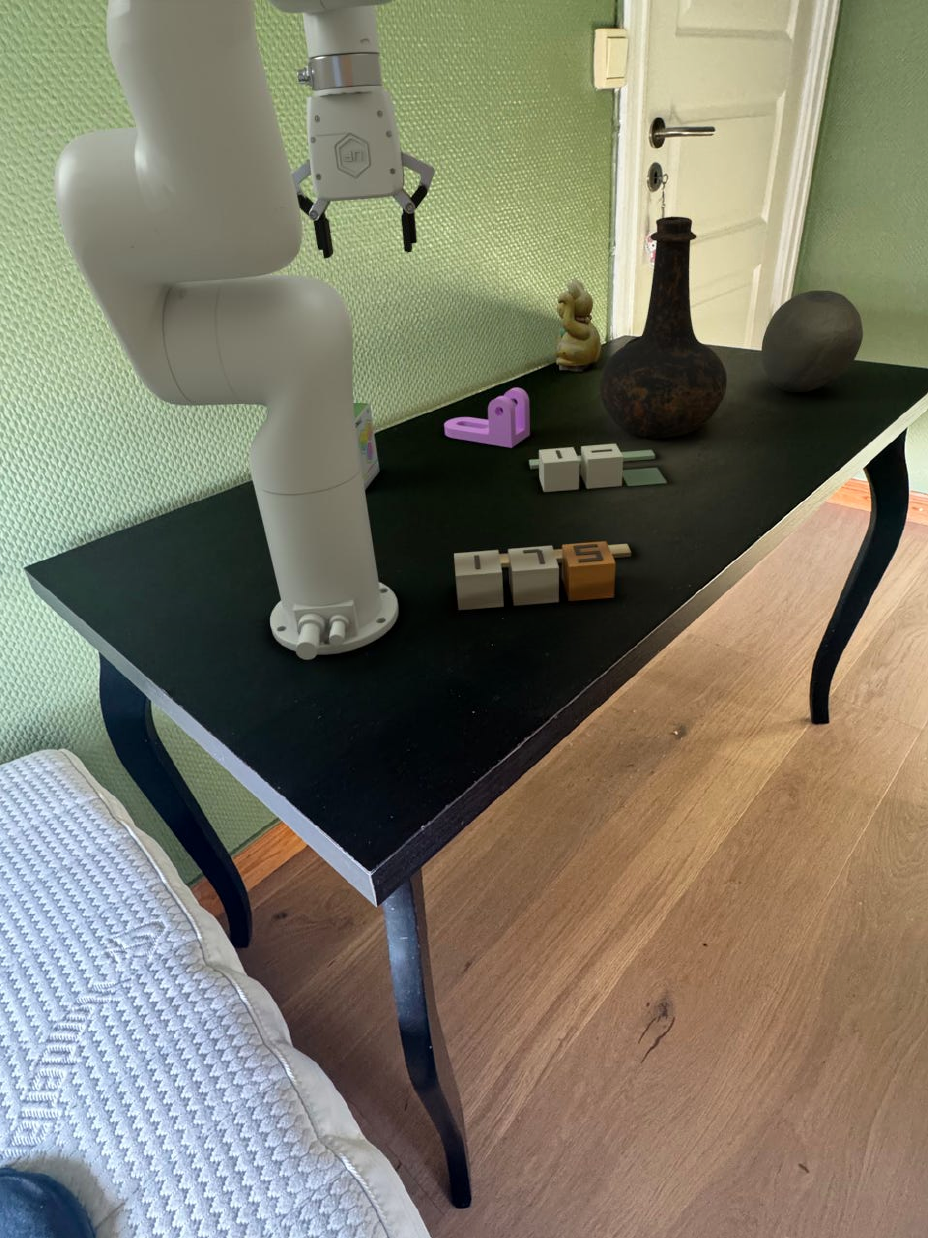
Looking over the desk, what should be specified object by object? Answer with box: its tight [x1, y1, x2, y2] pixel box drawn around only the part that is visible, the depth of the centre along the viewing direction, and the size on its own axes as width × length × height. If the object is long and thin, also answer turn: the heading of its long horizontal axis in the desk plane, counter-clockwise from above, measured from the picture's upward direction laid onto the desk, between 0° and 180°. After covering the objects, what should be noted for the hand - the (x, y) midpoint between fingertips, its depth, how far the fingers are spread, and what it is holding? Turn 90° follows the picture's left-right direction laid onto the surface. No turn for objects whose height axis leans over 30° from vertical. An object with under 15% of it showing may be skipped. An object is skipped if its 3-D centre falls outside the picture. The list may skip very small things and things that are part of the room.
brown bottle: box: [599, 216, 728, 439], centre depth 106 cm, size 18×18×28 cm
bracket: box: [443, 387, 531, 449], centre depth 114 cm, size 13×6×7 cm, turn 57°
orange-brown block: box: [561, 540, 616, 602], centre depth 76 cm, size 4×4×4 cm
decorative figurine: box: [555, 278, 602, 373], centre depth 138 cm, size 10×8×15 cm
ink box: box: [353, 402, 380, 491], centre depth 100 cm, size 7×4×13 cm, turn 168°
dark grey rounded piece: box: [760, 290, 864, 393], centre depth 118 cm, size 14×14×15 cm
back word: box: [528, 443, 668, 493], centre depth 100 cm, size 10×17×4 cm, turn 93°
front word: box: [453, 543, 632, 611], centre depth 79 cm, size 10×19×4 cm, turn 93°
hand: (368, 253), depth 91 cm, fingers open, 9 cm apart
